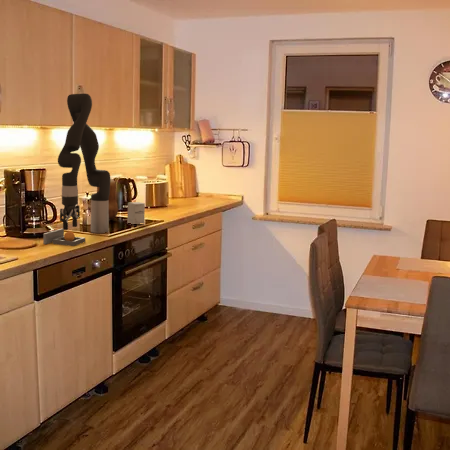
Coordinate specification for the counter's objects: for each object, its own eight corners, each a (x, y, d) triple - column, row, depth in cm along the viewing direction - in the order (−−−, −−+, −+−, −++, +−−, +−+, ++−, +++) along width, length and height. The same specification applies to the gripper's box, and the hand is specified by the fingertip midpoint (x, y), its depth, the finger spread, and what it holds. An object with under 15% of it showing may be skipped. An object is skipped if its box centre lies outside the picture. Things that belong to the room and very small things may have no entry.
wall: (61, 238, 300) (61, 228, 299) (63, 238, 300) (63, 228, 299) (43, 243, 285) (43, 233, 284) (45, 244, 285) (45, 233, 284)
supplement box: (133, 225, 346) (134, 203, 344) (127, 223, 352) (127, 202, 350) (144, 224, 351) (145, 203, 349) (137, 222, 357) (138, 201, 354)
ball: (67, 240, 293) (67, 230, 292) (76, 241, 292) (76, 231, 291) (62, 242, 288) (61, 231, 287) (71, 243, 287) (71, 232, 286)
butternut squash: (90, 221, 354) (91, 179, 350) (101, 218, 367) (101, 177, 363) (112, 223, 351) (112, 180, 346) (122, 220, 363) (122, 178, 359)
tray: (65, 239, 297) (65, 235, 296) (85, 242, 294) (85, 237, 293) (53, 243, 286) (53, 239, 286) (73, 246, 283) (73, 241, 283)
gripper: (70, 192, 294) (70, 225, 297) (54, 196, 280) (55, 230, 283) (84, 193, 292) (84, 226, 295) (69, 197, 278) (69, 231, 281)
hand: (70, 228), depth 289 cm, fingers open, 8 cm apart
